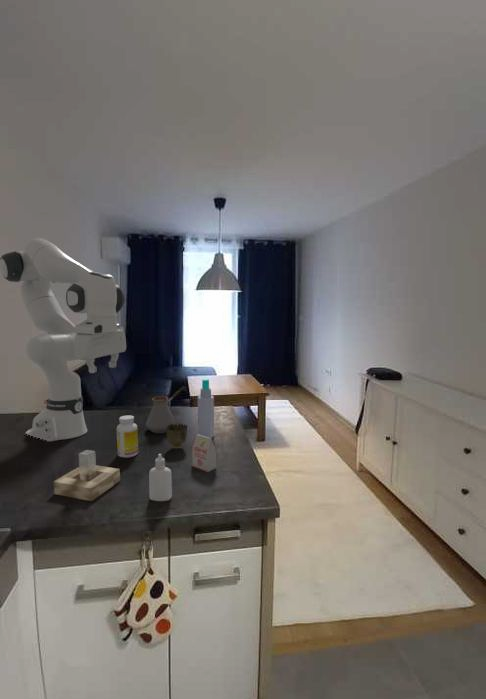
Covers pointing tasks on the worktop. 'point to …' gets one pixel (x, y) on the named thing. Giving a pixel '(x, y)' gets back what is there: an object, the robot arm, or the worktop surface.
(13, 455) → the worktop surface
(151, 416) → the coffee pot
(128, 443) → the supplement bottle
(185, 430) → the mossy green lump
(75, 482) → the tan square ring
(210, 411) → the spray bottle
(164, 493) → the eye dropper bottle
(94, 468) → the metal peg
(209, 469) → the white and red box
